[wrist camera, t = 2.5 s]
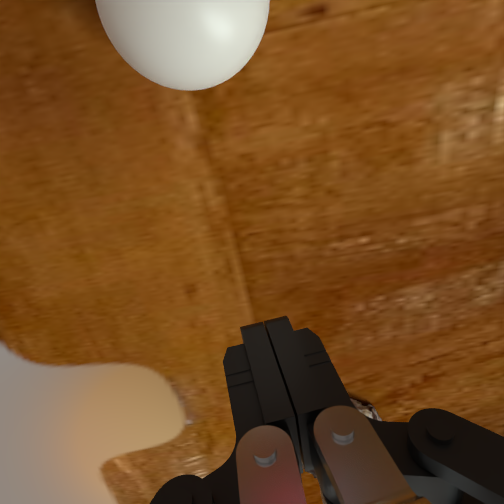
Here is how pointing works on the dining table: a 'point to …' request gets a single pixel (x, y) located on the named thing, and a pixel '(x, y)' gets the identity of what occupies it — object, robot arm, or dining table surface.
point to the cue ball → (185, 37)
